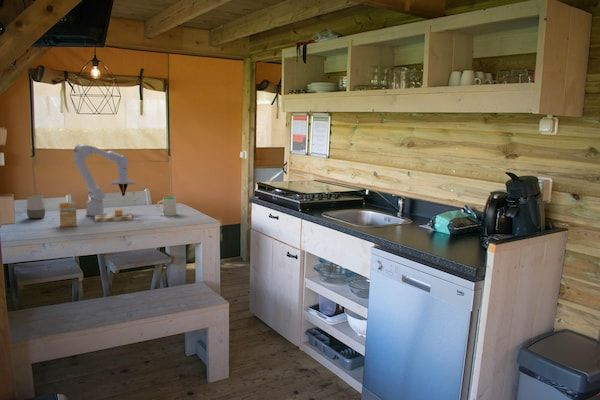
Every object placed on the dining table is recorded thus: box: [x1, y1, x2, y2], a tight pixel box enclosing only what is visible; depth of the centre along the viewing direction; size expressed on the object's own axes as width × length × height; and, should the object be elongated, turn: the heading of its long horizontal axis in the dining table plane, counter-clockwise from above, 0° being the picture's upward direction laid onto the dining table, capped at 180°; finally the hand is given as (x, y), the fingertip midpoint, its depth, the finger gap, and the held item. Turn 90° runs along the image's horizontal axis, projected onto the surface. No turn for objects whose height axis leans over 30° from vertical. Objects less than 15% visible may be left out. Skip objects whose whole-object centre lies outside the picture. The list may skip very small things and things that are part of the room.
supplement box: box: [58, 201, 78, 227], centre depth 266 cm, size 8×5×13 cm, turn 118°
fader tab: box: [114, 208, 123, 216], centre depth 288 cm, size 4×4×3 cm
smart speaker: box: [26, 194, 46, 220], centre depth 284 cm, size 10×9×14 cm
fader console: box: [94, 213, 133, 223], centre depth 287 cm, size 20×10×2 cm, turn 113°
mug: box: [156, 196, 178, 216], centre depth 304 cm, size 12×8×10 cm
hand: (123, 195), depth 310 cm, fingers closed
